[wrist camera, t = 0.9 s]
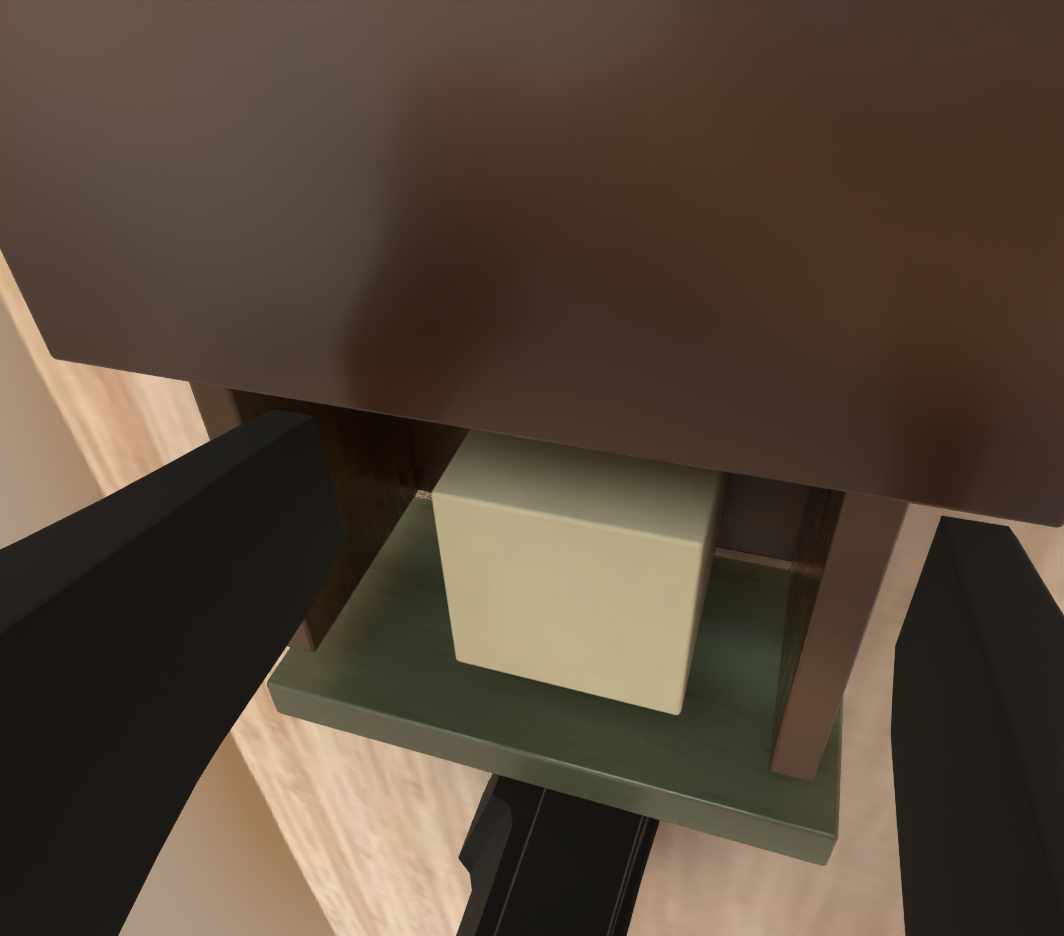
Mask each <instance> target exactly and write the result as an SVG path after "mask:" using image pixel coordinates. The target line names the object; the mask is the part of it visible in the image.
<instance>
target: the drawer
mask: <svg viewBox="0 0 1064 936" xmlns="http://www.w3.org/2000/svg"><path fill="white" fill-rule="evenodd" d="M189 383H190V386H191V389H192V391H193V394H194V397H195V400H196V402H197V405H198V408H199V411H200V414H201V416H202V419H203V422H204V425H205V427H206V430H207V433H208V436H209V438H210V441H211V440H213V439H215V438H217V437H219V436H220V435H222V434H224V433H226V432H228V431H230V430H232V429H234V428H236V427H238V426H240V425H242V424H244V423H246V422H248V421H250V420H252V419H254V418H256V417H258V416H260V415H263V414H265V413H267V412H269V411H272V410H279V411H286V412H292V413H298V414H304V415H311V416H316V420H317V424H318V427H319V431H320V435H321V439H322V442H323V446H324V450H325V454H326V457H327V461H328V465H329V469H330V472H331V476H332V480H333V483H334V487H335V491H336V495H337V498H338V502H339V506H340V510H341V513H342V517H343V521H344V524H345V528H346V532H347V537H346V540H345V542H344V544H343V546H342V548H341V550H340V553H339V555H338V557H337V559H336V561H335V563H334V566H333V568H332V570H331V572H330V574H329V576H328V578H327V580H326V582H325V584H324V586H323V588H322V590H321V592H320V594H319V596H318V598H317V600H316V602H315V603H314V605H313V607H312V608H311V610H310V611H309V613H308V614H307V616H306V617H305V619H304V621H303V622H302V624H301V625H300V627H299V628H298V630H297V631H296V633H295V634H294V636H293V637H292V639H291V640H290V642H289V643H288V645H287V646H288V647H290V648H289V650H288V651H287V653H286V654H285V656H284V657H283V659H282V660H281V662H280V663H279V665H278V666H277V668H276V669H275V671H274V672H273V674H272V675H271V677H270V678H269V680H268V682H267V687H268V689H269V692H270V694H271V697H272V699H273V702H274V704H275V707H276V709H277V711H278V712H279V713H281V714H285V715H289V716H292V717H296V718H299V719H303V720H306V721H310V722H313V723H317V724H321V725H324V726H328V727H331V728H335V729H338V730H342V731H345V732H349V733H352V734H356V735H360V736H363V737H367V738H370V739H374V740H377V741H381V742H384V743H388V744H392V745H395V746H399V747H402V748H406V749H409V750H413V751H416V752H420V753H423V754H427V755H431V756H434V757H438V758H441V759H445V760H448V761H452V762H455V763H459V764H463V765H466V766H470V767H473V768H477V769H480V770H484V771H487V772H491V773H494V774H498V775H502V776H505V777H509V778H512V779H516V780H519V781H523V782H526V783H530V784H534V785H537V786H541V787H544V788H548V789H551V790H555V791H558V792H562V793H565V794H569V795H573V796H576V797H580V798H583V799H587V800H590V801H594V802H597V803H601V804H605V805H608V806H612V807H615V808H619V809H622V810H626V811H629V812H633V813H636V814H640V815H644V816H647V817H651V818H654V819H658V820H661V821H665V822H668V823H672V824H676V825H679V826H683V827H686V828H690V829H693V830H697V831H700V832H704V833H707V834H711V835H715V836H718V837H722V838H725V839H729V840H732V841H736V842H739V843H743V844H747V845H750V846H754V847H757V848H761V849H764V850H768V851H771V852H775V853H778V854H782V855H786V856H789V857H793V858H796V859H800V860H803V861H807V862H810V863H814V864H818V865H821V866H825V865H826V864H827V863H828V860H829V858H830V856H831V853H832V851H833V848H834V846H835V844H836V841H837V839H838V827H839V800H840V774H841V748H842V721H843V695H844V691H845V688H846V685H847V683H848V680H849V677H850V674H851V671H852V668H853V665H854V662H855V659H856V657H857V654H858V651H859V648H860V645H861V642H862V639H863V636H864V633H865V631H866V628H867V625H868V622H869V619H870V616H871V613H872V610H873V607H874V605H875V602H876V599H877V596H878V593H879V590H880V587H881V584H882V581H883V579H884V576H885V573H886V570H887V567H888V564H889V561H890V558H891V555H892V553H893V550H894V547H895V544H896V541H897V538H898V535H899V532H900V529H901V527H902V524H903V521H904V518H905V515H906V512H907V509H908V506H909V503H908V502H902V501H896V500H890V499H884V498H878V497H872V496H866V495H860V494H854V493H848V492H842V491H836V490H830V489H824V488H818V487H813V486H807V485H801V484H795V483H789V482H783V481H777V480H771V479H765V478H759V477H753V476H747V475H741V474H735V473H729V475H728V482H727V488H726V495H725V501H724V508H723V514H722V520H721V525H720V530H719V534H718V539H717V544H716V547H720V548H725V549H730V550H735V551H740V552H746V553H751V554H756V555H761V556H766V557H772V558H777V559H782V560H787V561H792V562H791V570H785V569H780V568H775V567H770V566H765V565H760V564H755V563H750V562H744V561H739V560H734V559H729V558H724V557H719V556H714V558H713V563H712V568H711V573H710V577H709V582H708V587H707V592H706V596H705V601H704V606H703V611H702V616H701V620H700V625H699V630H698V635H697V639H696V644H695V649H694V654H693V658H692V663H691V668H690V673H689V678H688V682H687V687H686V692H685V697H684V701H683V706H682V711H681V713H680V714H679V715H674V714H670V713H666V712H662V711H658V710H654V709H650V708H646V707H642V706H637V705H633V704H629V703H625V702H621V701H617V700H613V699H609V698H605V697H601V696H597V695H593V694H589V693H585V692H581V691H577V690H573V689H569V688H565V687H561V686H557V685H553V684H549V683H544V682H540V681H536V680H532V679H528V678H524V677H520V676H516V675H512V674H508V673H504V672H500V671H496V670H492V669H488V668H484V667H480V666H476V665H472V664H468V663H464V662H460V661H458V660H457V659H456V654H455V648H454V641H453V635H452V628H451V621H450V615H449V608H448V602H447V595H446V589H445V582H444V575H443V569H442V562H441V556H440V549H439V543H438V536H437V529H436V523H435V516H434V510H433V503H432V501H431V500H426V499H421V498H416V497H415V495H416V494H417V492H418V490H423V491H428V492H432V491H433V489H434V488H435V486H436V484H437V483H438V481H439V480H440V478H441V476H442V475H443V473H444V472H445V470H446V468H447V467H448V465H449V463H450V462H451V460H452V459H453V457H454V455H455V454H456V452H457V451H458V449H459V447H460V446H461V444H462V442H463V441H464V439H465V438H466V436H467V434H468V433H469V431H470V430H471V429H468V428H462V427H456V426H450V425H444V424H438V423H432V422H426V421H420V420H414V419H408V418H403V417H397V416H391V415H385V414H379V413H373V412H367V411H361V410H355V409H349V408H343V407H337V406H331V405H325V404H319V403H313V402H307V401H301V400H296V399H290V398H284V397H278V396H272V395H266V394H260V393H254V392H248V391H242V390H236V389H230V388H224V387H218V386H212V385H206V384H200V383H195V382H189Z"/></svg>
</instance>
